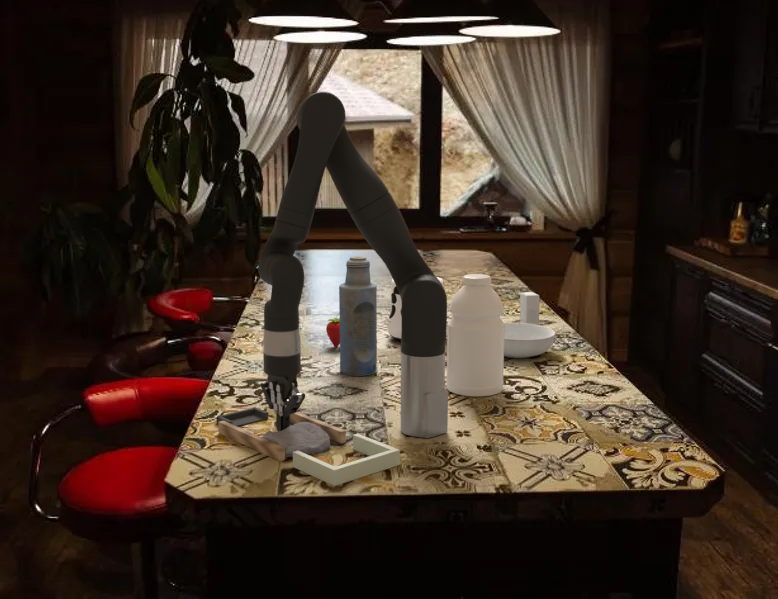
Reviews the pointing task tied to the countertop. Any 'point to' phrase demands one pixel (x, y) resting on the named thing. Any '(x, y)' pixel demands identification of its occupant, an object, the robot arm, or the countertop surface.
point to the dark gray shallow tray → (244, 417)
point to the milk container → (397, 312)
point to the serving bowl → (526, 340)
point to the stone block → (300, 438)
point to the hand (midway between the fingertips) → (283, 431)
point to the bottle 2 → (475, 339)
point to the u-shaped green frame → (377, 461)
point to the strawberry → (334, 331)
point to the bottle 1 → (358, 319)
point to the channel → (272, 448)
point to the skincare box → (529, 308)
